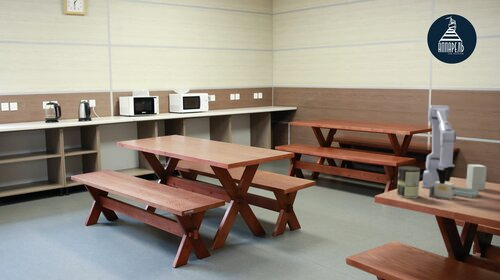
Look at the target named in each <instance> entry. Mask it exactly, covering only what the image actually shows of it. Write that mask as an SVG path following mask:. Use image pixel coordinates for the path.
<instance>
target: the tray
mask: <svg viewBox="0 0 500 280" xmlns="http://www.w3.org/2000/svg"><path fill="white" fill-rule="evenodd" d="M455 187H456V189H454V194H456V196H455V197H464V198H468V199H474V198H475V197H478V196H479V194H480V193H479V192H480V190H473V189H469V188H467V187H466V188H465V187H459V186H455Z"/></svg>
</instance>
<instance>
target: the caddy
mask: <svg viewBox="0 0 500 280" xmlns="http://www.w3.org/2000/svg"><path fill="white" fill-rule="evenodd" d="M456 187H457V186H455V183H453V182H449V181H445V183H444V184H441V183H440V182H439V181H437V182H435V183H434V195H435V196H441V197H447V198H450V200H451V199H453V198H454V196H453V194H454V189H456Z"/></svg>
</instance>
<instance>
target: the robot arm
mask: <svg viewBox="0 0 500 280" xmlns="http://www.w3.org/2000/svg"><path fill="white" fill-rule="evenodd" d="M450 110H451V109H450V106H449V105H439V104H438V105H435V104H429V106H428V110H427V114H428V115H427V118H428V122H430V123H431V153H429V154H428V155H427V156H426V161H425V170H424V171H423V174H422V185H421V187H422V188H426V189H430V187H431V186H433V185H434V183H435V182H437V181H439V182H440V183H441V184H444V183H445V182H450V180H451V177H452V174H453V172H454V170H455V168H456V167H455V166H456V165H455V164H453V159H454V158H453V157H454V144H455V143H456V140H457V133H456V130H454V129H453V127H452V124H451V122H450V121H448V118H449V116H450V112H451V111H450Z"/></svg>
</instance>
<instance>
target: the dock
mask: <svg viewBox="0 0 500 280" xmlns="http://www.w3.org/2000/svg"><path fill="white" fill-rule="evenodd" d="M428 194H429V196H428V197H429V198H434V199H438V200H439V199H440V200H445V201H450V200H451V199H450V198H447V197H441V196H435V195H434V185H433V186H431V187H430V188H429V193H428ZM453 197H457V196H456V194H453Z"/></svg>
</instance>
